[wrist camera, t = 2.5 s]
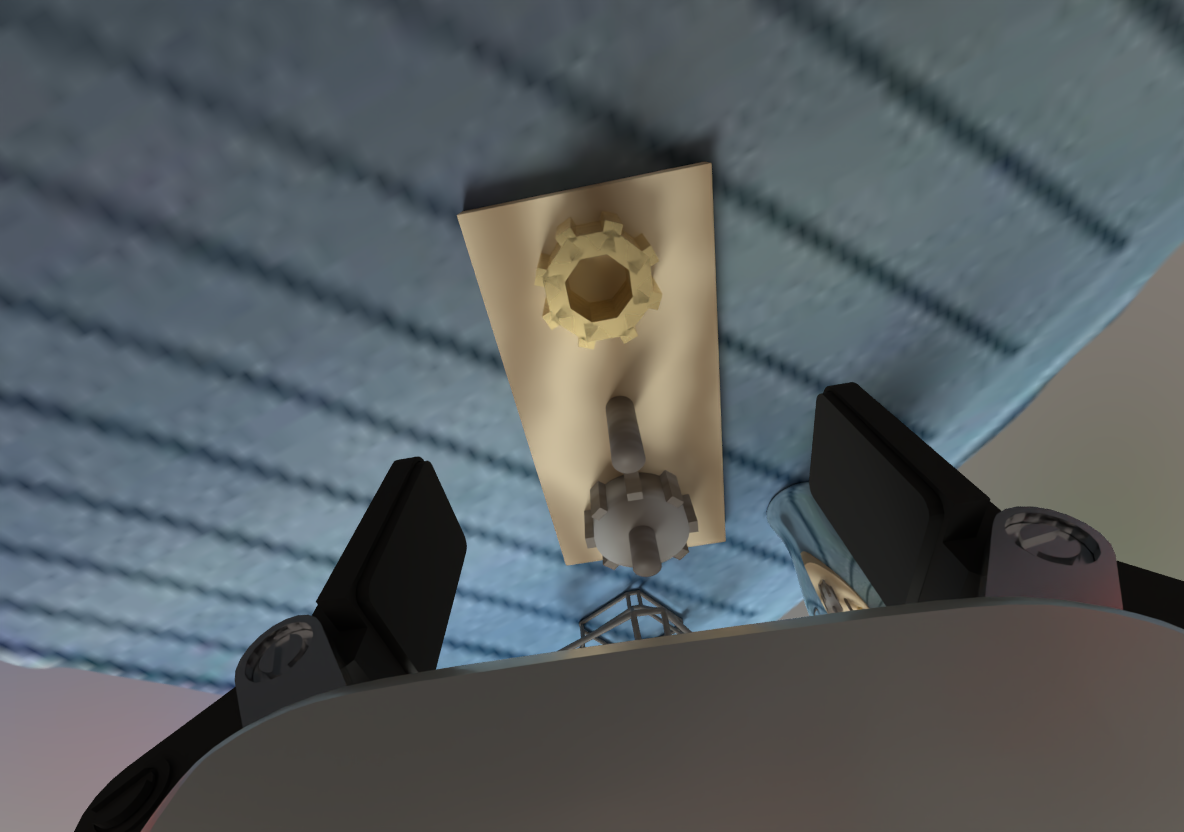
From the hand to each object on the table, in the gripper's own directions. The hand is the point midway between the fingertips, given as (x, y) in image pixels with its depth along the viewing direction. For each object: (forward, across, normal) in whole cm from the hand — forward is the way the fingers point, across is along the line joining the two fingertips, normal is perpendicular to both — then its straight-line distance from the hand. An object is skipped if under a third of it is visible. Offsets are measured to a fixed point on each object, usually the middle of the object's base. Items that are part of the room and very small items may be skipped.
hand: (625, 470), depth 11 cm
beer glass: (+20, -14, +23) cm, 34 cm away
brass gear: (+19, 0, 0) cm, 19 cm away
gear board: (+20, 0, +10) cm, 22 cm away
